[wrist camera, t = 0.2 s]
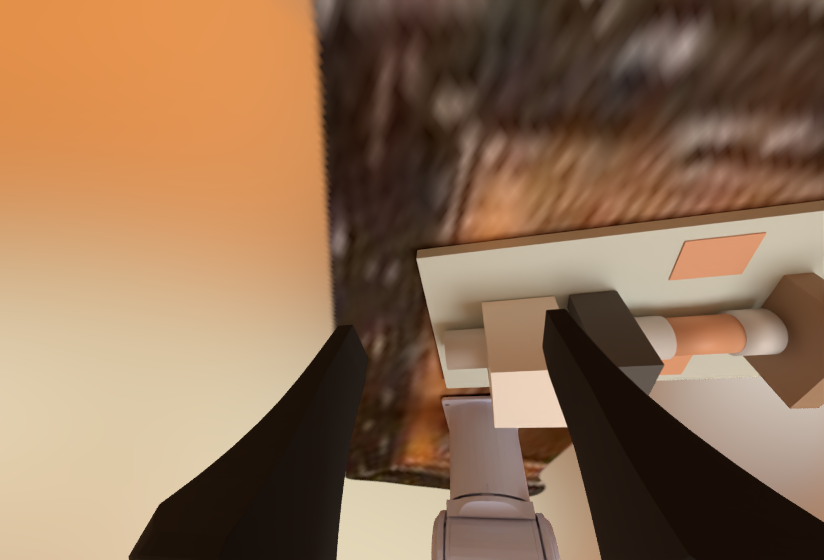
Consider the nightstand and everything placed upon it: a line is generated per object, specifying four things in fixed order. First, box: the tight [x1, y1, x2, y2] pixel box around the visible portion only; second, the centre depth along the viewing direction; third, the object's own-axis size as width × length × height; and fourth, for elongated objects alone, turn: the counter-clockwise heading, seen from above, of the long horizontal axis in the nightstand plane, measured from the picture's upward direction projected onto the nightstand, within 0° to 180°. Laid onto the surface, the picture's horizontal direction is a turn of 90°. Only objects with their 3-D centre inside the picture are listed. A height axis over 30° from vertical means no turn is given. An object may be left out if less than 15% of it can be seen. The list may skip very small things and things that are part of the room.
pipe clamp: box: [416, 200, 824, 409], centre depth 22 cm, size 16×26×6 cm, turn 101°
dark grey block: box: [567, 291, 664, 395], centre depth 21 cm, size 7×3×6 cm, turn 11°
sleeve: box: [481, 296, 567, 428], centre depth 22 cm, size 7×5×6 cm
